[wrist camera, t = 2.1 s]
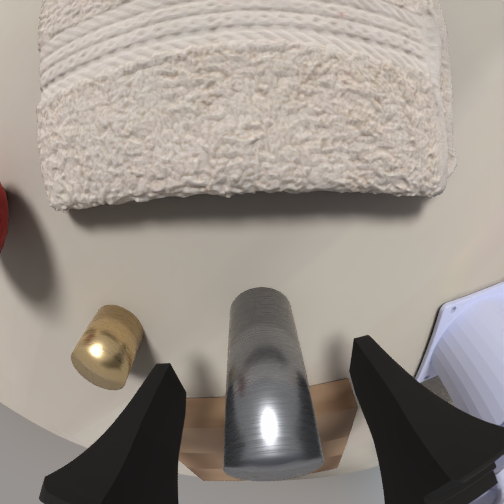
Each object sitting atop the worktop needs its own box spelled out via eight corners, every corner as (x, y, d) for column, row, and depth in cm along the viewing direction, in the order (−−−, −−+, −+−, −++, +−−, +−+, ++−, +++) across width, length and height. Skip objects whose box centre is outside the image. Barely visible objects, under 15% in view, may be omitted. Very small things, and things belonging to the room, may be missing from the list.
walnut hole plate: (348, 378, 16) (357, 406, 14) (333, 449, 22) (337, 467, 20) (150, 397, 17) (143, 425, 14) (204, 461, 23) (203, 480, 20)
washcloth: (429, 187, 11) (468, 206, 8) (69, 210, 11) (33, 234, 8) (410, -19, 6) (441, -37, 3) (61, 2, 6) (29, -13, 3)
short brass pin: (131, 302, 13) (107, 349, 10) (151, 344, 14) (135, 391, 11) (88, 306, 13) (60, 348, 10) (109, 345, 14) (90, 387, 11)
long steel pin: (288, 282, 13) (327, 445, 5) (292, 330, 14) (321, 473, 7) (224, 292, 13) (211, 457, 5) (236, 337, 14) (234, 483, 7)
